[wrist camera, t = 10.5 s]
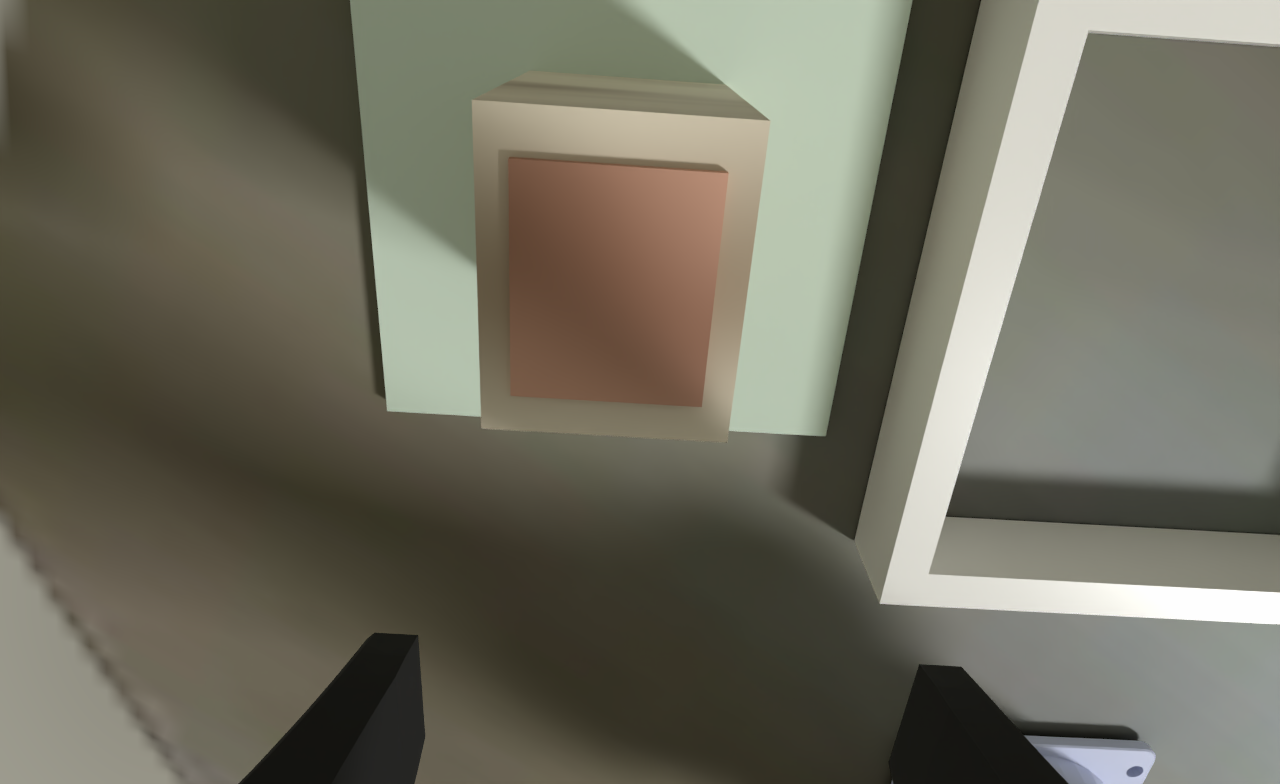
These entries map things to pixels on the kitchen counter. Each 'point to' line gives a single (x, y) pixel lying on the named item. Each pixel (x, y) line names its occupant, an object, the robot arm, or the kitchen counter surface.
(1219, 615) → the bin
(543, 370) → the birch block
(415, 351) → the pad
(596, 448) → the kitchen counter surface
